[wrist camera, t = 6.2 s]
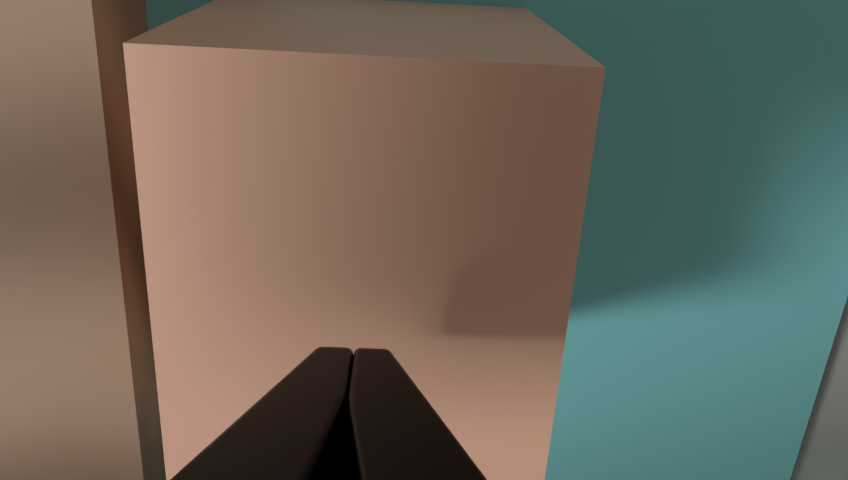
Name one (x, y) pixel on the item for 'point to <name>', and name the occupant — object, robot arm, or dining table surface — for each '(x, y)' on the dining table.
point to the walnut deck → (72, 250)
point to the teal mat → (699, 234)
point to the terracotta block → (362, 207)
